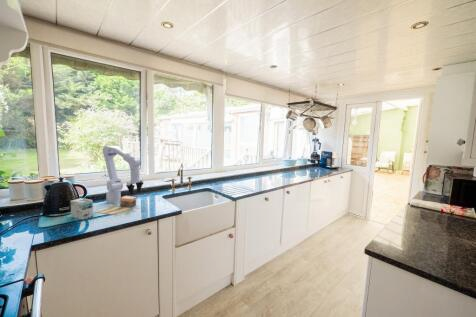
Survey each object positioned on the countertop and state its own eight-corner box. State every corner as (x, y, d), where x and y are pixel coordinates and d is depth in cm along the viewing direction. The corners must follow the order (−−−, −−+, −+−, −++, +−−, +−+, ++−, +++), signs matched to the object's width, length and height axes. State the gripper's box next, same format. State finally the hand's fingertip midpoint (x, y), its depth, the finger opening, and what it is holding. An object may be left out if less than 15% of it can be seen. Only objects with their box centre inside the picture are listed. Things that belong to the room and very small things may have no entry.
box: (120, 206, 146) (120, 200, 146) (125, 204, 151) (125, 198, 151) (131, 207, 145) (131, 201, 144) (136, 205, 149) (135, 199, 149)
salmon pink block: (119, 201, 146) (119, 197, 146) (125, 199, 151) (125, 196, 151) (131, 202, 144) (131, 199, 144) (136, 200, 149) (136, 197, 149)
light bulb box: (93, 216, 128) (93, 199, 127) (82, 220, 121) (81, 202, 120) (82, 213, 131) (81, 197, 130) (70, 217, 125) (69, 200, 124)
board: (95, 213, 133) (95, 212, 132) (112, 206, 146) (112, 205, 146) (118, 216, 129) (118, 215, 129) (133, 208, 142) (133, 208, 142)
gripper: (132, 176, 139) (132, 196, 140) (146, 173, 153) (146, 191, 154) (123, 176, 140) (124, 195, 142) (138, 173, 155) (138, 190, 156)
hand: (135, 192), depth 148 cm, fingers open, 7 cm apart
